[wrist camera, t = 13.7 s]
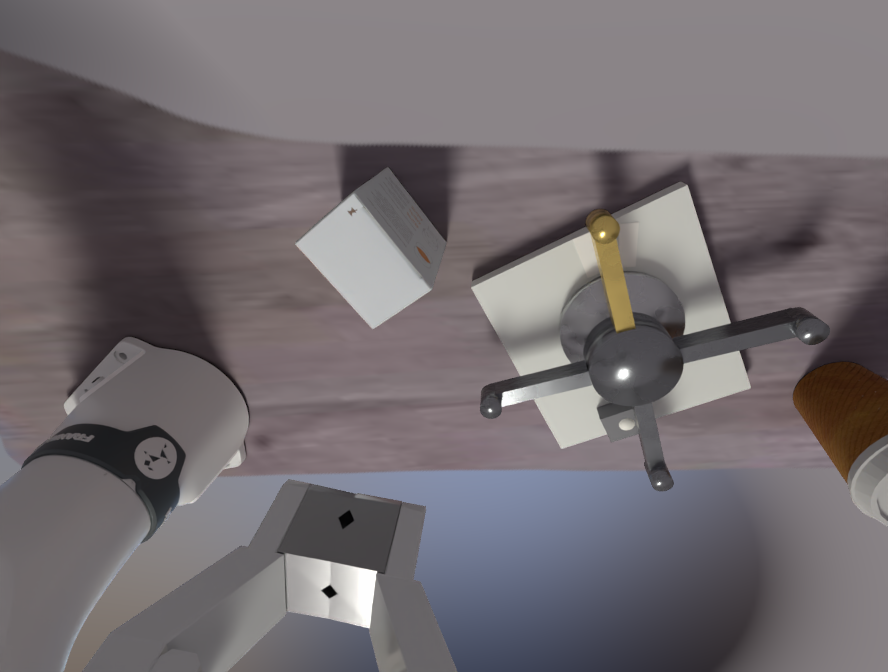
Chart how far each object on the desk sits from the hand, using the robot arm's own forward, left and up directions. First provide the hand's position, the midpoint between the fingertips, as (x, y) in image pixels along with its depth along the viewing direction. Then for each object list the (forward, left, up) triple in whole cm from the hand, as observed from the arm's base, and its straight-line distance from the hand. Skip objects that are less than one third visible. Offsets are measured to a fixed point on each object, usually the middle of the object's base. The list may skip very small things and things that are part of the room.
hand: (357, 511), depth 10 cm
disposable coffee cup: (+22, -31, -31) cm, 49 cm away
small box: (-6, +1, -31) cm, 32 cm away
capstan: (+7, -17, -29) cm, 34 cm away
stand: (+6, -16, -31) cm, 36 cm away
